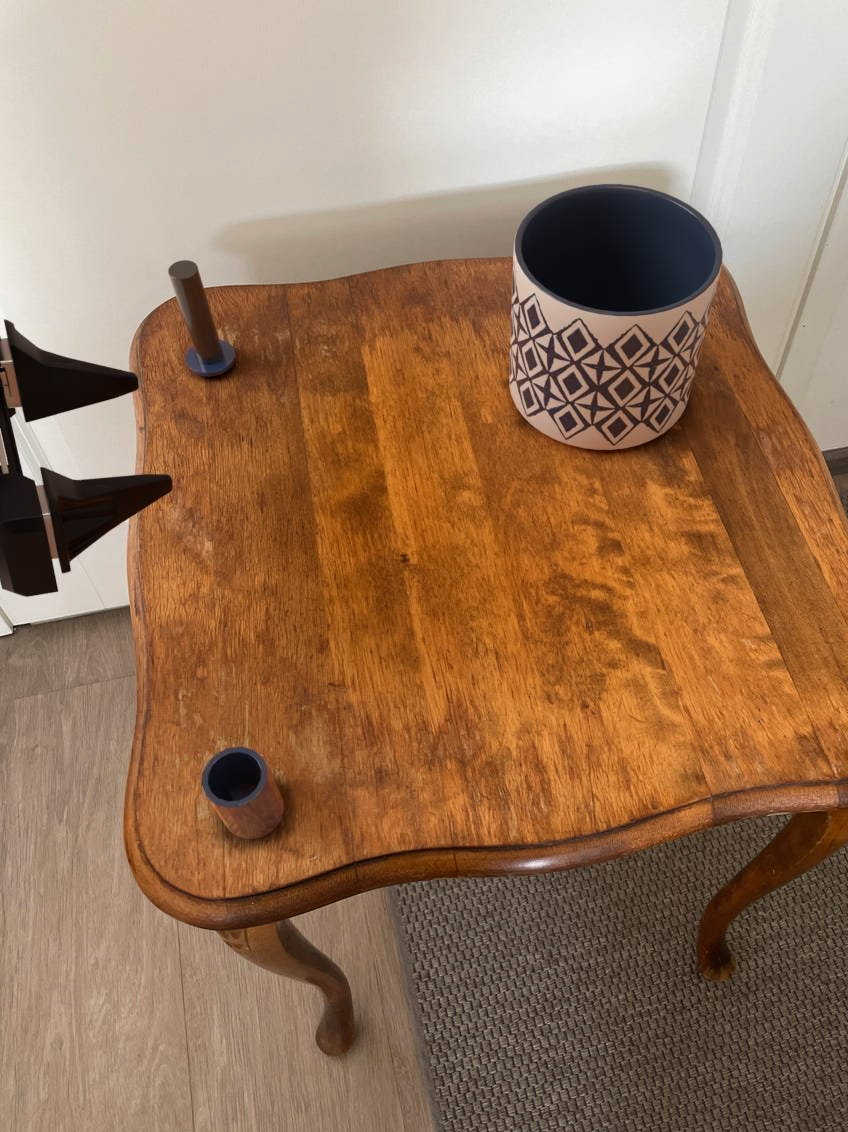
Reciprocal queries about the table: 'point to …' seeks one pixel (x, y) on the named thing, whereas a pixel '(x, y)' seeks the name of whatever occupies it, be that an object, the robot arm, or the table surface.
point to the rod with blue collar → (199, 322)
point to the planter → (609, 313)
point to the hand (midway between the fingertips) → (154, 430)
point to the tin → (243, 792)
